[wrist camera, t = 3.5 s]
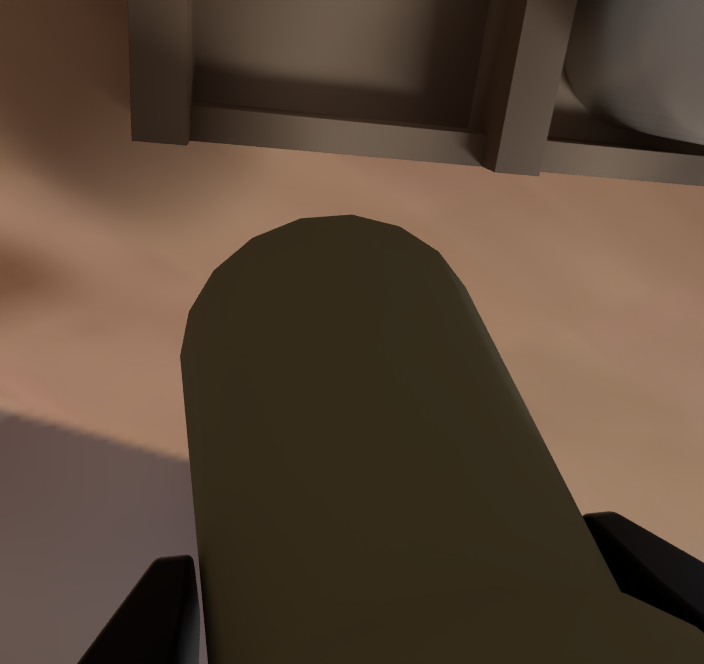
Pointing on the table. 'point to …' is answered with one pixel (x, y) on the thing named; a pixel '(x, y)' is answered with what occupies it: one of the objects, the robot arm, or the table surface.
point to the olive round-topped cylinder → (383, 472)
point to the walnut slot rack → (383, 85)
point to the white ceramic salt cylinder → (640, 65)
